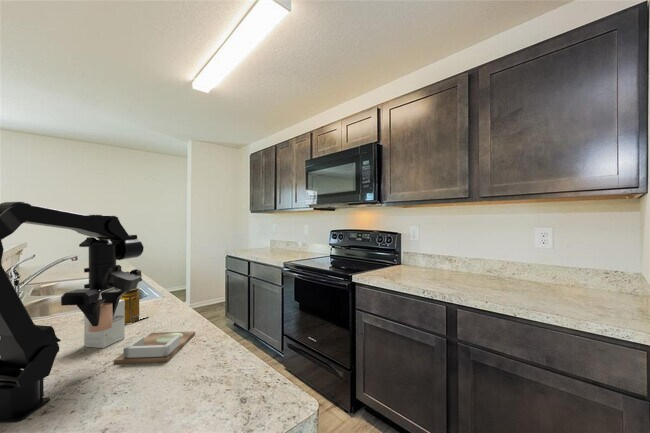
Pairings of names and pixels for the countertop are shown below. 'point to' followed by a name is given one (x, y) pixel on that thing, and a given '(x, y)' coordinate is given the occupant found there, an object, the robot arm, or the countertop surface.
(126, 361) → the board
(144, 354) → the frame
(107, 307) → the stub
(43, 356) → the robot arm
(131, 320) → the condiment
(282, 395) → the countertop surface
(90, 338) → the supplement box
